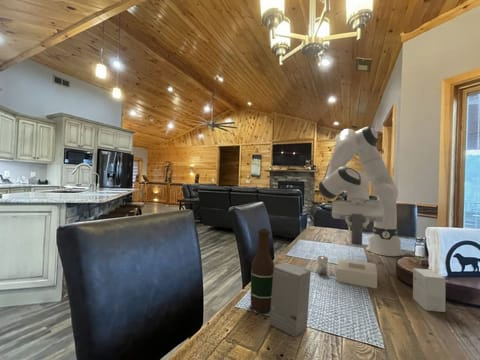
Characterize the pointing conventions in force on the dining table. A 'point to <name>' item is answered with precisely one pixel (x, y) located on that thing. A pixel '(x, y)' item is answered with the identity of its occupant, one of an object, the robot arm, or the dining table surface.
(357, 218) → the dark gray tall block
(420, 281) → the small box
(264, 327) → the dining table surface
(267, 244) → the beer bottle
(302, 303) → the skincare box
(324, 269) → the short pin
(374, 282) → the socket block
